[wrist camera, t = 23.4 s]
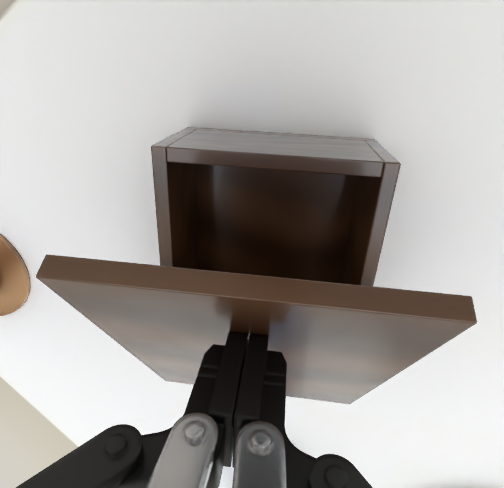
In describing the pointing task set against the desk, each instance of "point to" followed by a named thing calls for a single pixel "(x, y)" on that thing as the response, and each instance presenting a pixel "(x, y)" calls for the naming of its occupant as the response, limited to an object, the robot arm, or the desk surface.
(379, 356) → the lid
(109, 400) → the desk surface
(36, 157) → the desk surface
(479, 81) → the desk surface
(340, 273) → the wooden box
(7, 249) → the coaster
